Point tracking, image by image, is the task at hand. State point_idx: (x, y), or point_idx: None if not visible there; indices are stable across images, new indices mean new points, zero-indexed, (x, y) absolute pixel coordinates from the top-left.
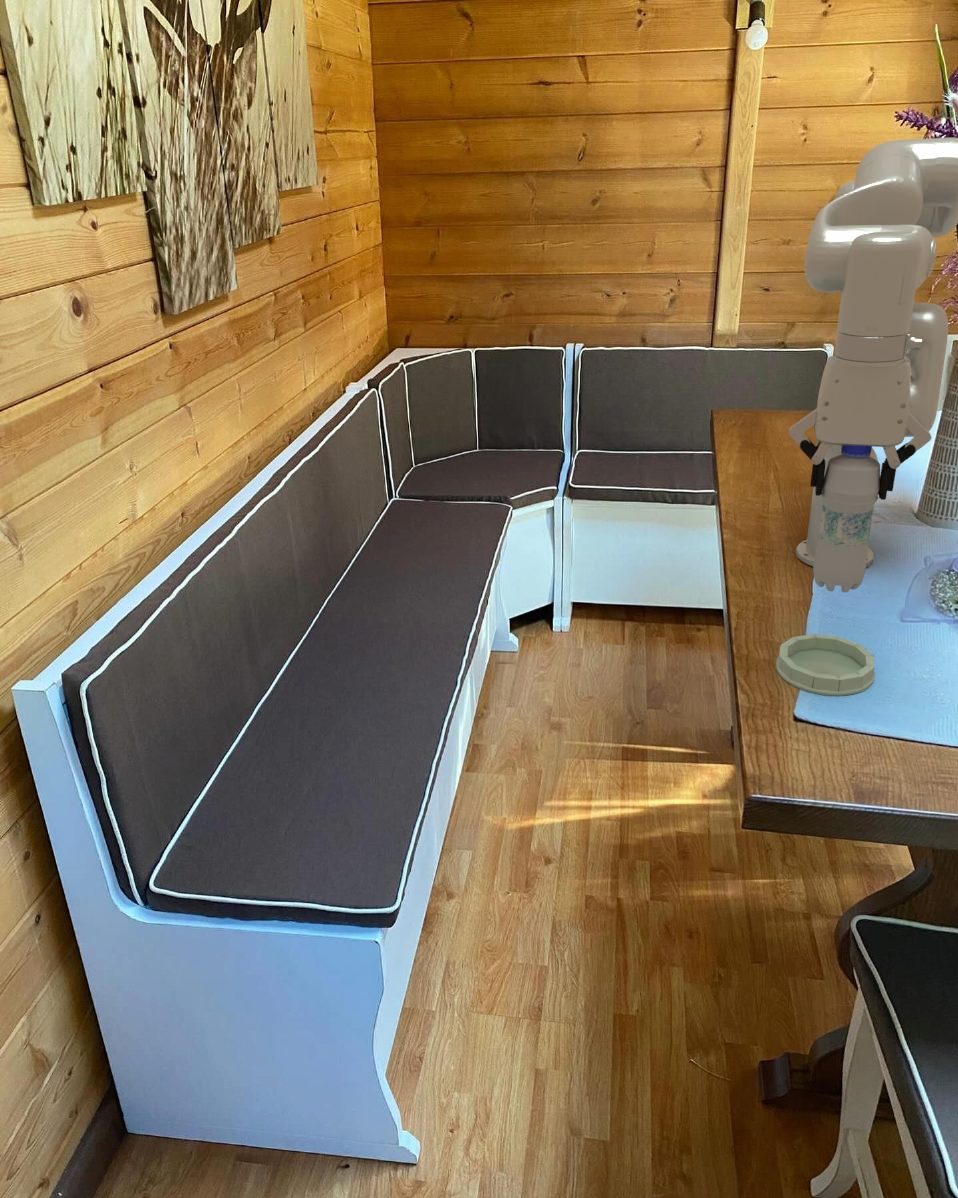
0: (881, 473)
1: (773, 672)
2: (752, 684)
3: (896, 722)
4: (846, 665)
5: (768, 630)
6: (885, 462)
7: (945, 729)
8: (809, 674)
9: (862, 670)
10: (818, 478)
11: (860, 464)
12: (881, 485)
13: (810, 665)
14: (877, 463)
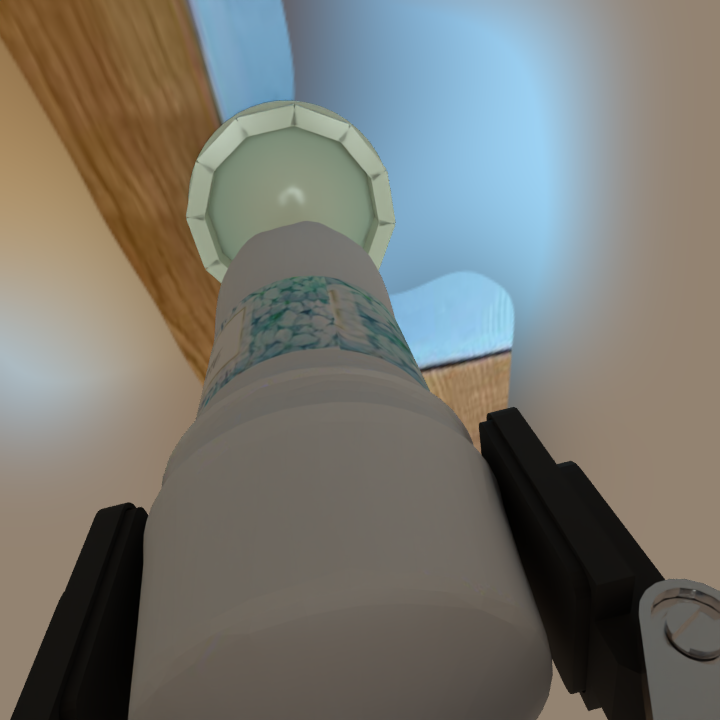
0: (537, 559)
1: (202, 262)
2: (185, 323)
3: (438, 324)
4: (332, 183)
5: (102, 53)
6: (602, 669)
7: (509, 309)
8: None
9: (374, 248)
10: None
11: None
12: None
13: (264, 219)
14: (537, 707)
